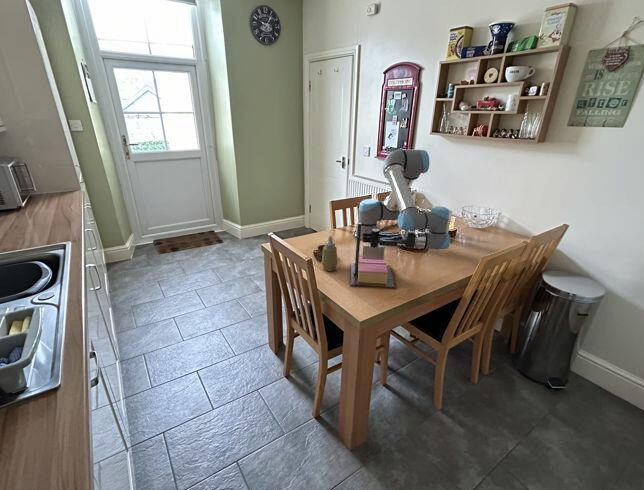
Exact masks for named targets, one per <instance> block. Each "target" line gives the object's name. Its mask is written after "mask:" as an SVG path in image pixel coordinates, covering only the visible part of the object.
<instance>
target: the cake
mask: <svg viewBox="0 0 644 490" xmlns="http://www.w3.org/2000/svg"><path fill="white" fill-rule="evenodd" d="M362 257H363V254H362V255H361V254H359V263H358V281H359V282H363V283H381V284H387V277H388V270H387V266H386V265H387V261H386V258H385V257H386V256H384V260H370V259H362Z"/></svg>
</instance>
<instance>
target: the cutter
mask: <svg viewBox="0 0 644 490" xmlns="http://www.w3.org/2000/svg"><path fill="white" fill-rule="evenodd" d="M379 230H380V229H378V228H377V229H372V231H371V237H378V236H379V232H380V231H379ZM385 248H386V246H382V245H379V244H378V243H369V245H363V246H362V256H363V257H362V259H370V260H384V257H385Z"/></svg>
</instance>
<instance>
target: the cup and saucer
mask: <svg viewBox="0 0 644 490" xmlns="http://www.w3.org/2000/svg"><path fill="white" fill-rule="evenodd" d="M324 246H325V244H321V245H320V244H319V245H318V246H317V249H314V250H313V252H312V255H313V258H315V259H316V260H318V261H322V255H323V248H324Z"/></svg>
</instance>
